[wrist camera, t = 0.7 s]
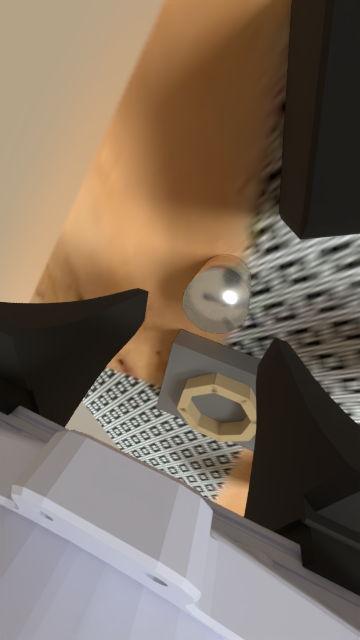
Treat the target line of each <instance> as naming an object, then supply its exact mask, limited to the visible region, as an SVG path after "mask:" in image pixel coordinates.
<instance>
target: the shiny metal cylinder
mask: <svg viewBox="0 0 360 640" xmlns="http://www.w3.org/2000/svg"><path fill="white" fill-rule="evenodd" d="M250 290H251V273H250V270H249V268H248V266H247V265H246V264H245V263H244V262H243V261H242V260H241V259H239V258H238V257H235V256H232V255H218V256H215V257H213V258H211V259H210V260H209V261H207V262H206V263H205V265H204V266H203V267H202V268H201V270H200V271H199V272H198V273H197V275H196V276H195V277H194V278H193V280H192V281H191V282H190V283H189V285H188V286H187V288H186V289H185V291H184V294H183V308H184V312H185V314H186V316H187V317H188V319H189V320H190V321H191V323H193V324H194V325H195V326H196V327H198V328H199V329H201V330H203V331H206V332H209V333H216V334H221V333H227V332H230V331H232V330H234V329H236V328H237V327H239V326H240V325H241V324H242V323H243V322H244V320H245V318H246V316H247V314H248V310H249V300H250Z"/></svg>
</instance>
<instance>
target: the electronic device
mask: <svg viewBox="0 0 360 640" xmlns="http://www.w3.org/2000/svg"><path fill="white" fill-rule="evenodd" d="M279 212H280V217H281V219H282V220H283V221H284V222H285V223H286V224H287V225H288V227H289V228H290V229H291V230H292V231H293V232H294V233H295V234H296V235H297V236H298V238H299V239H300V240H301V239H311V238H321V237H331V236H341V235H351V234H360V0H292V5H291V20H290V36H289V53H288V69H287V86H286V102H285V119H284V135H283V152H282V168H281V185H280V201H279Z"/></svg>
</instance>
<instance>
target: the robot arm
mask: <svg viewBox="0 0 360 640" xmlns="http://www.w3.org/2000/svg"><path fill="white" fill-rule="evenodd" d="M147 298H148V291H145V290H142V289H140V288H137V289H132V290H128V291H124V292H120V293H116V294H112V295H108V296H103V297H98V298H93V299H88V300H82V301H73V302H62V303H7V302H0V640H360V426H359V425H358V424H357V423H356V422H355V421H354V420H352V419H351V418H350V417H349V416H348V415H347V414H346V413H345V412H344V411H343V410H342V409H341V408H340V407H339V406H338V405H337V403H336V402H335V401H334V400H333V399H332V398H331V397H330V396H329V395H328V394H327V393H326V392H325V390H324V389H323V388H322V387H321V386H320V384H319V383H318V382H317V381H316V380H315V378H314V377H313V376H312V374H311V373H310V372H309V371H308V369H307V368H306V367H305V365H304V364H303V362H302V361H301V360H300V358H299V357H298V356H297V354H296V353H295V351H294V350H293V349H292V347H291V346H290V345H289V344H288V342H286V341H283V340H280V339H277V338H275V339H274V340H273V342H272V343H271V345H270V347H269V348H268V350H267V351H266V353H265V355H264V356H263V358H262V359H261V361H260V362H259V364H258V369H257V376H256V435H255V445H254V454H253V462H252V470H251V477H250V484H249V491H248V497H247V503H246V509H245V515H244V517H242V516H240V515H238V514H236V513H234V512H232V511H230V510H228V509H226V508H224V507H222V506H220V505H218V504H216V503H214V502H212V501H210V500H208V499H206V498H204V497H203V496H202V495H201V494H200V493H199V492H198V491H197V490H195V489H194V488H192V487H190V486H189V485H187V484H186V483H184V482H183V481H181V480H179V479H177V478H175V477H173V476H171V475H169V474H167V473H165V472H163V471H161V470H159V469H157V468H155V467H153V466H151V465H149V464H147V463H145V462H143V461H141V460H139V459H137V458H135V457H133V456H131V455H129V454H127V453H125V452H123V451H121V450H119V449H117V448H114V447H113V446H111V445H108V444H107V443H104V442H102V441H100V440H98V439H96V438H94V437H92V436H90V435H87V434H84V433H82V432H79V431H76V430H68V429H66V428H65V426H66V424H67V423H68V421H69V420H70V418H71V417H72V415H73V413H74V411H75V410H76V408H77V407H78V406H79V404H80V403H81V401H82V400H83V398H84V397H85V395H86V394H87V392H88V391H89V389H90V388H91V386H92V385H93V384H94V382H95V381H96V379H97V378H98V377H99V375H100V374H101V372H102V371H103V370H104V368H105V367H106V366H107V364H108V363H109V362H110V361H111V360H112V359H113V357H114V356H115V355H116V354H117V353H118V352H119V351H120V350H121V349H122V348H123V347H124V346H125V345H126V343H127V342H128V341H129V340H130V339H131V338H132V337H133V336H134V335H135V334H136V332H137V331H138V329H139V328H140V326H141V325H142V323H143V322H144V319H145V312H146V305H147Z"/></svg>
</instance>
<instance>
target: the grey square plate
mask: <svg viewBox="0 0 360 640" xmlns="http://www.w3.org/2000/svg"><path fill="white" fill-rule="evenodd" d="M260 361H261V360H260V359H258V358H255V357H253V356H250V355H247V354H245V353H242V352H240V351H237V350H234V349H232V348H229V347H227V346H224V345H221V344H219V343H216V342H214V341H211V340H208V339H206V338H203V337H201V336H198V335H195V334H193V333H190V332H188V331H185V330H182V329H181V330H180V332H179V333H178V335H177V337H176V339H175V340H174V342H173V345H172V349H171V352H170V356H169V360H168V364H167V368H166V371H165V375H164V379H163V383H162V387H161V390H160V394H159V398H158V402H157V406H156V408H159V409H161V410H163V411H165V412H167V413H170V414H172V415H174V416H176V417H178V418H181V419H183V420H185V421H186V422H187V423H188V424H189V426H190V427H191V428H192V429H193V430H196V431H198V432H200V433H202V434H204V435H207V436H209V437H211V438H213V439H215V440H218V441H220V442H226V441H231V442H234V443H236V444H238V445H240V446H242V447H245V448H247V449H249V450H251V451H254V445H255V435H256V376H257V369H258V364H259V362H260Z"/></svg>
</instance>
